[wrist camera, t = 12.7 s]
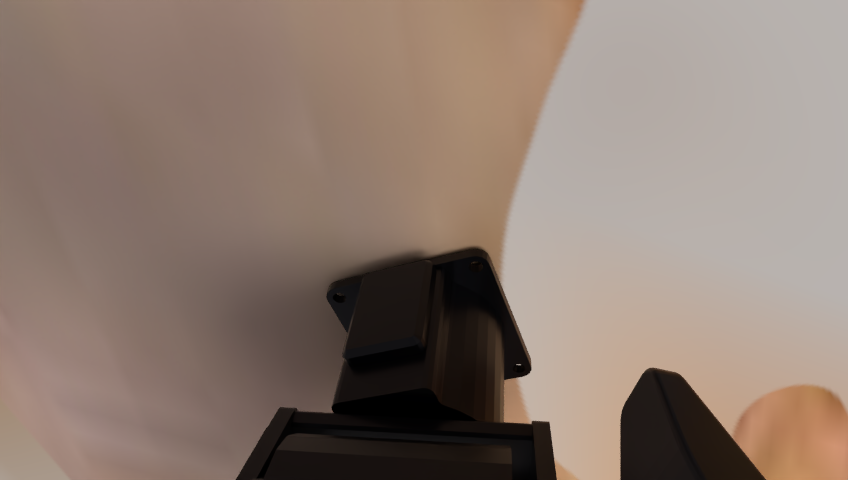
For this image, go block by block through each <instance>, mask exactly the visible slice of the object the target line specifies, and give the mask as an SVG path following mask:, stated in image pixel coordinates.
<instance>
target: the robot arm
mask: <svg viewBox="0 0 848 480" xmlns="http://www.w3.org/2000/svg"><path fill="white" fill-rule="evenodd" d="M474 261H478V262H480V263H482V264H480V265H473V264H471V263H472V262H474ZM337 293H341V294H343V295H344V296H340V295H338V294H337ZM327 300H328V302H329V303H330V305H331V307H332V308H333V310H334V312H335V313H336V315H337V317H338V318H339V320H340V322H341V323H342V325H343V327H344V328H345V330H346V332H347V333H348V334H347V338H346V341H345V345H344V349H343V353H342V356H343V358H344V361H343V365H342V369H341V373H340V377H339V380H338V384H337V388H336V392H335V396H334V400H333V403H332V407H331V408H332V411H333V412H334V413H323V412H305V411H298V410H297V408H285V407H280V408H279V409H278V411H277V413H276V414H275V416H274V418H273V419H272V421H271V423H270V424H269V426H268V427H267V428H266V430H265V431H264V433H263V435H262V436H261V438H260V440H259V441H258V443H257V445H256V447H255V448H254V450H253V452H252V453H251V455H250V457H249V458H248V460H247V462H246V463H245V465H244V467H243V469H242V470H241V472H240V474H239V475H238V477H237V479H236V480H557V478H556V470H555V463H554V455H553V447H552V440H551V431H550V424H549V422H542V421H532V424H524V423H505V422H504V380H506V379H511V378H517V377H523V376H525V375H527V374H529V373H530V371H531V358H530V356H529V353H528V351H527V348H526V346H525V344H524V341H523V339H522V336H521V333H520V331H519V328H518V326H517V324H516V321H515V319H514V316H513V314H512V311H511V309H510V306H509V304H508V301H507V299H506V296H505V294H504V291H503V289H502V286H501V284H500V281H499V279H498V276H497V274H496V271H495V269H494V266H493V264H492V261H491V259H490V257H489V255H488V254H487V253H486V252H485V251H483V250H479V249H473V250H468V251H464V252H460V253H455V254H451V255H447V256H443V257H438V258H434V259H430V260H422V261H418V262H414V263H409V264H405V265H401V266H397V267H392V268H388V269H384V270H380V271H375V272H371V273H367V274H365V275H362V276H358V277H354V278H349V279H345V280H341V281H337V282H334V283H332V284H331V285H330V286H329V289H328V292H327ZM516 364H521V365H516ZM621 480H766V479H765V478H764V477H763V475H762V474H761V473H760V472H759V470H758V469H757V468H756V467H755V465H754V464H753V463H752V462H751V461H750V459H749V458H748V457H747V456H746V454H745V453H744V452H743V451H742V449H741V448H740V447H739V446H738V444H737V443H736V442H735V441H734V440H733V438H732V437H731V436H730V435H729V433H728V432H727V431H726V430H725V428H724V427H723V426H722V425H721V423H720V422H719V421H718V420H717V419H716V417H715V416H714V415H713V414H712V412H711V411H710V410H709V409H708V407H707V406H706V405H705V404H704V403H703V401H702V400H701V399H700V398H699V396H698V395H697V394H696V393H695V391H694V390H693V389H692V388H691V386H690V385H689V384H688V383H687V382H686V380H685V379H684V378H683V377H682V376H681V375H680V374H678V373H676V372H671V371H666V370H662V369H657V368H649V369H647V370H646V371H645V372H644V373H643V374H642V376H641V378H640V379H639V381H638V382H637V384H636V386H635V388H634V389H633V391H632V393H631V394H630V396H629V398H628V399H627V401H626V402H625V405H624V407H623V410H622V414H621Z"/></svg>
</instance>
